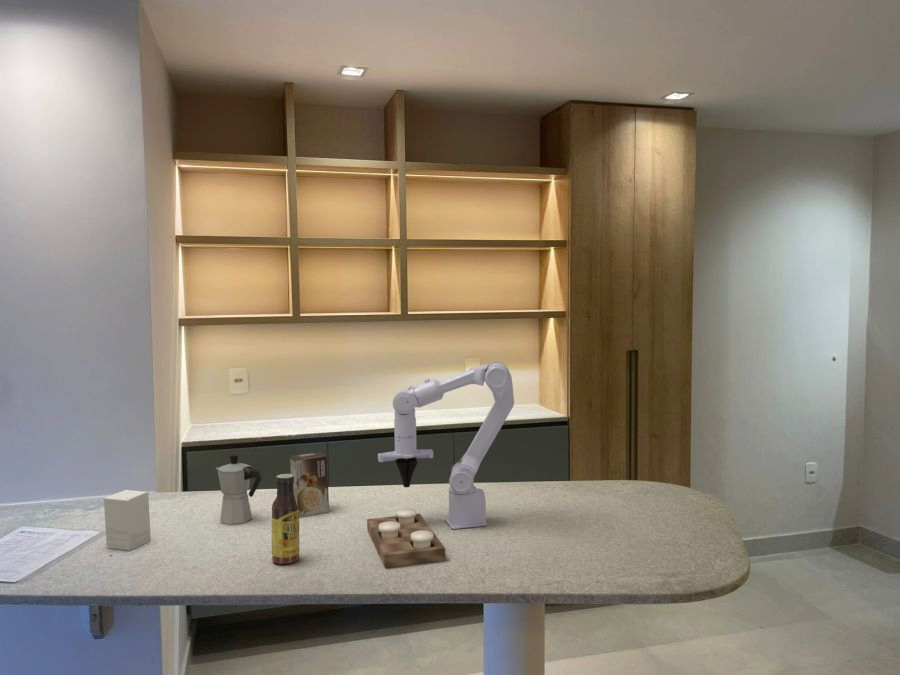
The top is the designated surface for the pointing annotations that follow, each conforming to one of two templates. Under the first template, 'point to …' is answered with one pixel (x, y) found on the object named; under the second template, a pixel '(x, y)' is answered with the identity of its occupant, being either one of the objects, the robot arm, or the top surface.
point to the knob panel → (404, 543)
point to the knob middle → (389, 529)
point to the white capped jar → (406, 515)
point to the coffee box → (310, 483)
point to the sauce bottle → (285, 522)
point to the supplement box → (127, 520)
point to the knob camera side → (421, 539)
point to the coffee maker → (236, 491)
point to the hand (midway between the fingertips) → (406, 486)
